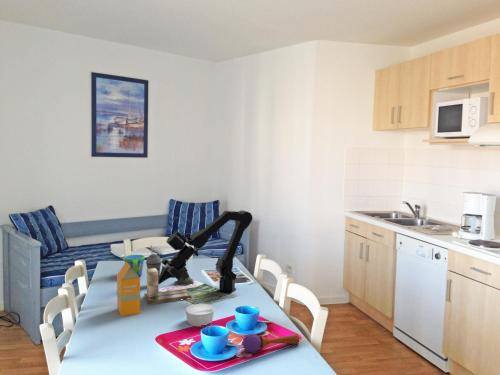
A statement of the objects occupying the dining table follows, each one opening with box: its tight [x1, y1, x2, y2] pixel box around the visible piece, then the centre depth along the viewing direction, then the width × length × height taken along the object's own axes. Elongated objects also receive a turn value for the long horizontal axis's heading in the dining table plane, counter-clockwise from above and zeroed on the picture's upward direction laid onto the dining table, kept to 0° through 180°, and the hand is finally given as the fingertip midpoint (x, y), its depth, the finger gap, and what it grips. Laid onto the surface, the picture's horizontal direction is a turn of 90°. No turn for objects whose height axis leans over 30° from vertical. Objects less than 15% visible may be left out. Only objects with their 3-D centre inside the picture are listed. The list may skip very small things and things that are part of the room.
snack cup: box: [123, 254, 146, 277], centre depth 224 cm, size 16×10×10 cm
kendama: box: [242, 333, 300, 353], centre depth 144 cm, size 6×6×20 cm
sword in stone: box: [174, 276, 195, 286], centre depth 213 cm, size 10×8×12 cm
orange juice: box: [116, 261, 141, 317], centre depth 174 cm, size 8×9×20 cm
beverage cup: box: [145, 244, 162, 287], centre depth 208 cm, size 7×7×20 cm
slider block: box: [146, 268, 159, 299], centre depth 187 cm, size 4×8×11 cm, turn 23°
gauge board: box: [143, 288, 192, 305], centre depth 191 cm, size 19×10×2 cm, turn 113°
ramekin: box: [185, 303, 215, 327], centre depth 165 cm, size 11×11×5 cm
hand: (158, 283), depth 189 cm, fingers closed
